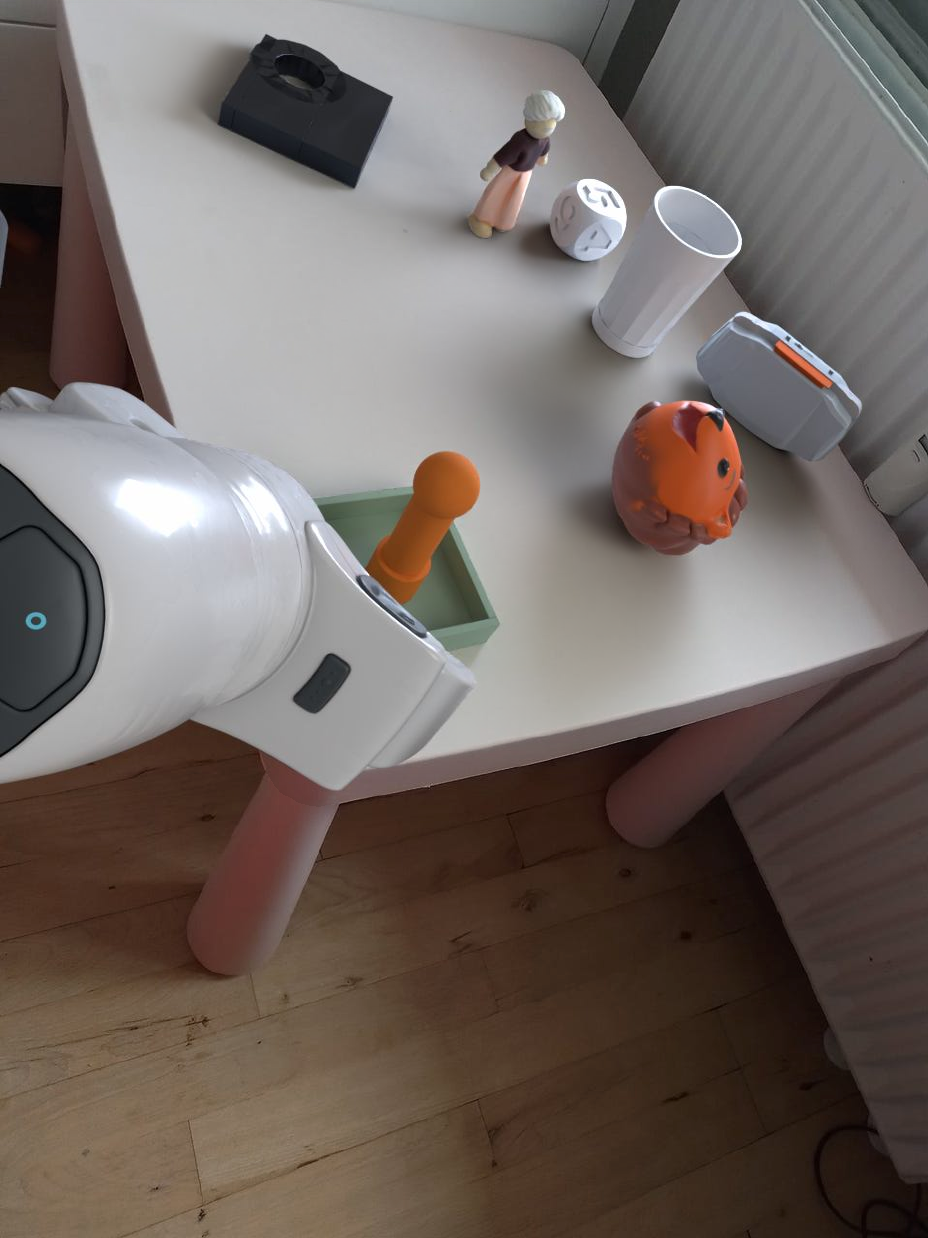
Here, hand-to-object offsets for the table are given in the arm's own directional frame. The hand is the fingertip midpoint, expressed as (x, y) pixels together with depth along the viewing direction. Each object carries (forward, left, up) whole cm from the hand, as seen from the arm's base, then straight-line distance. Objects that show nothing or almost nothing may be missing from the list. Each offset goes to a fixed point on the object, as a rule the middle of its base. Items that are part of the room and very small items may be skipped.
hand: (309, 560), depth 48 cm
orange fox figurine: (+24, +24, -12) cm, 36 cm away
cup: (+20, +44, -12) cm, 50 cm away
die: (+14, +53, -12) cm, 56 cm away
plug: (+6, +9, -12) cm, 16 cm away
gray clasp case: (+33, +40, -12) cm, 53 cm away
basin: (+6, +9, -12) cm, 16 cm away
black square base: (-12, +52, -12) cm, 55 cm away
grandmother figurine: (+6, +50, -12) cm, 52 cm away
